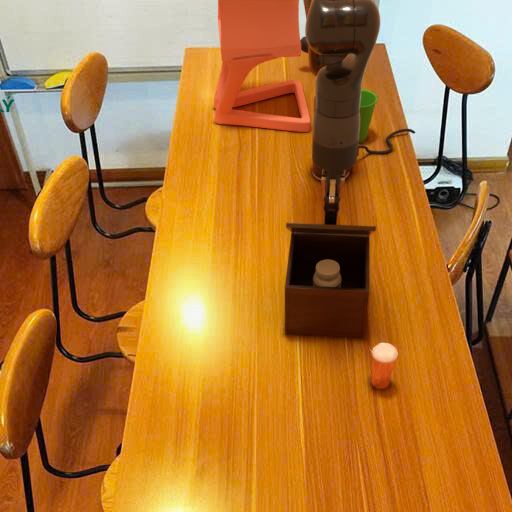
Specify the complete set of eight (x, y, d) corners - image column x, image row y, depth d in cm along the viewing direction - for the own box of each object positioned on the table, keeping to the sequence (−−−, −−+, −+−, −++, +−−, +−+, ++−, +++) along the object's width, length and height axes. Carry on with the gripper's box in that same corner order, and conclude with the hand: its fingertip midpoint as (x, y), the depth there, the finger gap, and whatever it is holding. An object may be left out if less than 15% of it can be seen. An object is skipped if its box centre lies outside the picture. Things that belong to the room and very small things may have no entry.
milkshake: (361, 374, 130) (366, 337, 122) (389, 372, 130) (396, 335, 122) (365, 393, 127) (371, 356, 119) (394, 390, 127) (401, 353, 119)
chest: (363, 338, 136) (369, 291, 126) (284, 334, 137) (284, 287, 127) (364, 282, 146) (369, 235, 136) (290, 279, 147) (291, 231, 138)
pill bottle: (343, 298, 142) (346, 260, 134) (335, 316, 138) (338, 279, 131) (316, 292, 143) (318, 254, 135) (308, 310, 140) (309, 273, 132)
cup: (371, 148, 179) (375, 107, 170) (337, 145, 180) (339, 104, 172) (375, 130, 184) (379, 90, 176) (341, 127, 186) (344, 87, 177)
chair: (212, 94, 198) (200, -43, 171) (300, 89, 199) (302, -49, 172) (215, 138, 183) (203, -5, 156) (311, 132, 184) (315, -11, 157)
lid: (375, 231, 119) (376, 226, 119) (286, 227, 120) (286, 222, 120) (369, 235, 136) (370, 231, 136) (291, 232, 137) (291, 228, 137)
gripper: (358, 157, 107) (350, 247, 120) (359, 114, 115) (351, 202, 128) (310, 155, 107) (307, 245, 121) (314, 112, 116) (311, 201, 129)
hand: (330, 223), depth 124 cm, fingers closed
